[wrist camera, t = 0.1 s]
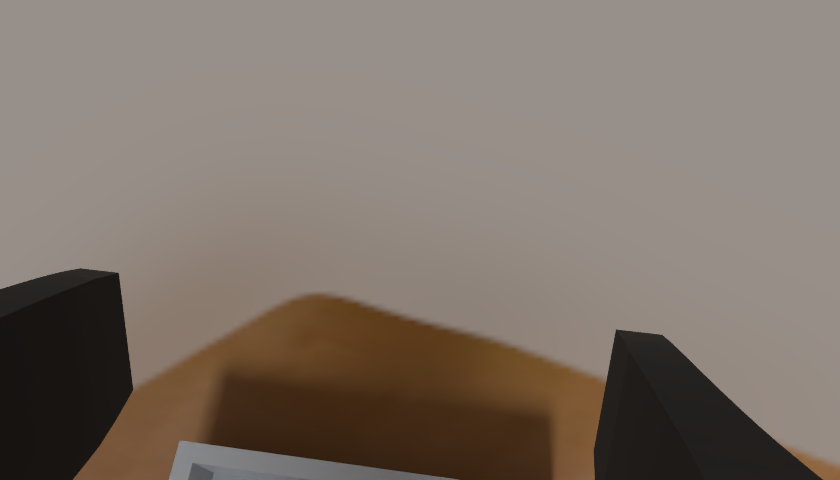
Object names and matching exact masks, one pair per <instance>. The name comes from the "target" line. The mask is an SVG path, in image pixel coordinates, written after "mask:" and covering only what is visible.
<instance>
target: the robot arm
mask: <svg viewBox="0 0 840 480" xmlns="http://www.w3.org/2000/svg"><path fill="white" fill-rule="evenodd" d="M132 391H133V385H132V377H131V368H130V361H129V353H128V345H127V337H126V328H125V321H124V312H123V304H122V296H121V288H120V280H119V273H115V272H106V271H97V270H89V269H75V270H69V271H64V272H59V273H55V274H52V275H47V276H44V277H40V278H36V279H33V280H29V281H27V282H23V283H19V284H16V285H13V286H10V287H6V288H3V289H0V480H73V478H74V477H75V476H76V475H77V474H78V472H79V471H80V470H81V469H82V467H83V466H84V465H85V464H86V462H87V461H88V460H89V459H90V457H91V456H92V455H93V453H94V452H95V451H96V450H97V448H98V447H99V446H100V444H101V443H102V441H103V439H104V438H105V436H106V435H107V433H108V432H109V430H110V428H111V427H112V425H113V424H114V422H115V420H116V419H117V417H118V415H119V414H120V412H121V410H122V408H123V407H124V405H125V403H126V401H127V400H128V398H129V396H130V394H131V393H132ZM594 467H595V480H822V479H821V478H820V477H819V476H817V475H816V474H815V473H814V472H813V471H811V470H810V469H809V468H808V467H806V466H805V465H804V464H803V463H802V462H800V461H799V460H798V459H797V458H796V457H794V456H793V455H792V454H791V453H790V452H788V451H787V450H786V449H785V448H784V447H782V446H781V445H780V444H779V443H777V442H776V441H775V440H774V439H773V438H772V437H771V436H770V435H768V434H767V433H766V432H765V431H764V430H763V429H762V428H760V427H759V426H758V425H757V424H756V423H755V422H754V421H753V420H752V419H750V418H749V417H748V416H747V415H746V414H745V413H744V412H743V411H742V410H741V409H739V408H738V407H737V406H736V405H735V404H734V403H733V402H732V401H731V400H730V399H729V398H728V397H727V396H726V395H725V394H724V393H723V392H721V391H720V390H719V389H718V388H717V387H716V386H715V385H714V384H713V383H712V382H711V381H710V380H709V379H708V378H707V377H706V376H705V375H704V374H703V373H702V372H701V371H700V370H699V369H698V368H697V367H696V366H695V365H694V364H693V363H692V362H691V361H690V360H689V359H688V358H687V357H686V356H685V355H684V354H682V353H681V352H680V351H679V350H678V349H677V348H676V347H675V346H674V345H673V344H672V343H671V342H670V341H669V340H667V339H666V338H665V337H664V336H663V335H658V334H650V333H641V332H632V331H623V330H616V333H615V338H614V344H613V349H612V354H611V360H610V365H609V371H608V376H607V382H606V387H605V393H604V398H603V403H602V409H601V414H600V420H599V425H598V431H597V436H596V442H595V447H594Z"/></svg>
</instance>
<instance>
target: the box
mask: <svg viewBox="0 0 840 480" xmlns="http://www.w3.org/2000/svg"><path fill="white" fill-rule="evenodd" d="M169 480H458V479H451V478H444V477H437V476H430V475H423V474H415V473H408V472H401V471H394V470H387V469H380V468H373V467H366V466H358V465H351V464H344V463H337V462H330V461H323V460H316V459H309V458H301V457H294V456H287V455H280V454H273V453H266V452H259V451H251V450H244V449H237V448H230V447H223V446H216V445H209V444H202V443H194V442H187V441H180V442H179V445H178V449H177V452H176V456H175V459H174V463H173V466H172V470H171V473H170V477H169Z"/></svg>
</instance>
